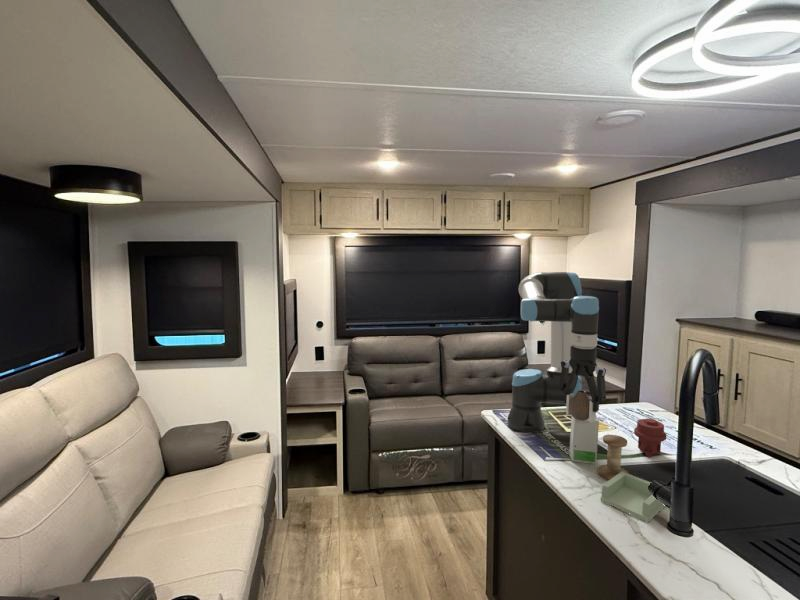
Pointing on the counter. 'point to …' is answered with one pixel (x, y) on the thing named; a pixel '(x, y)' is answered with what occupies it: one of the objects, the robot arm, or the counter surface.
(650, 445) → the mechanical component
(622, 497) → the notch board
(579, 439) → the skincare box
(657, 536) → the counter surface
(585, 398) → the vase
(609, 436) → the bobbin
